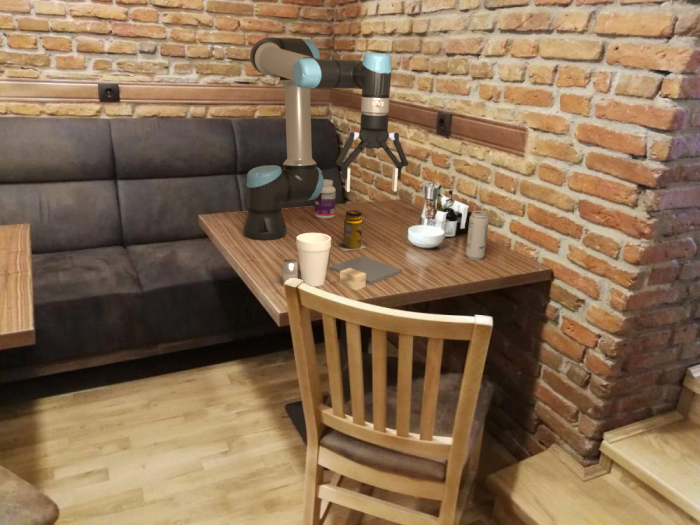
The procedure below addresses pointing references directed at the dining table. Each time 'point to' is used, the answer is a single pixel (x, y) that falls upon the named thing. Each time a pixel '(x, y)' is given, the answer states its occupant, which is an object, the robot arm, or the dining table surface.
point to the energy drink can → (477, 235)
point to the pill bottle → (326, 201)
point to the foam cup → (313, 257)
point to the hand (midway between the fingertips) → (370, 190)
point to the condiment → (352, 231)
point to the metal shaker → (290, 269)
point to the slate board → (368, 268)
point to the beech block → (352, 278)
